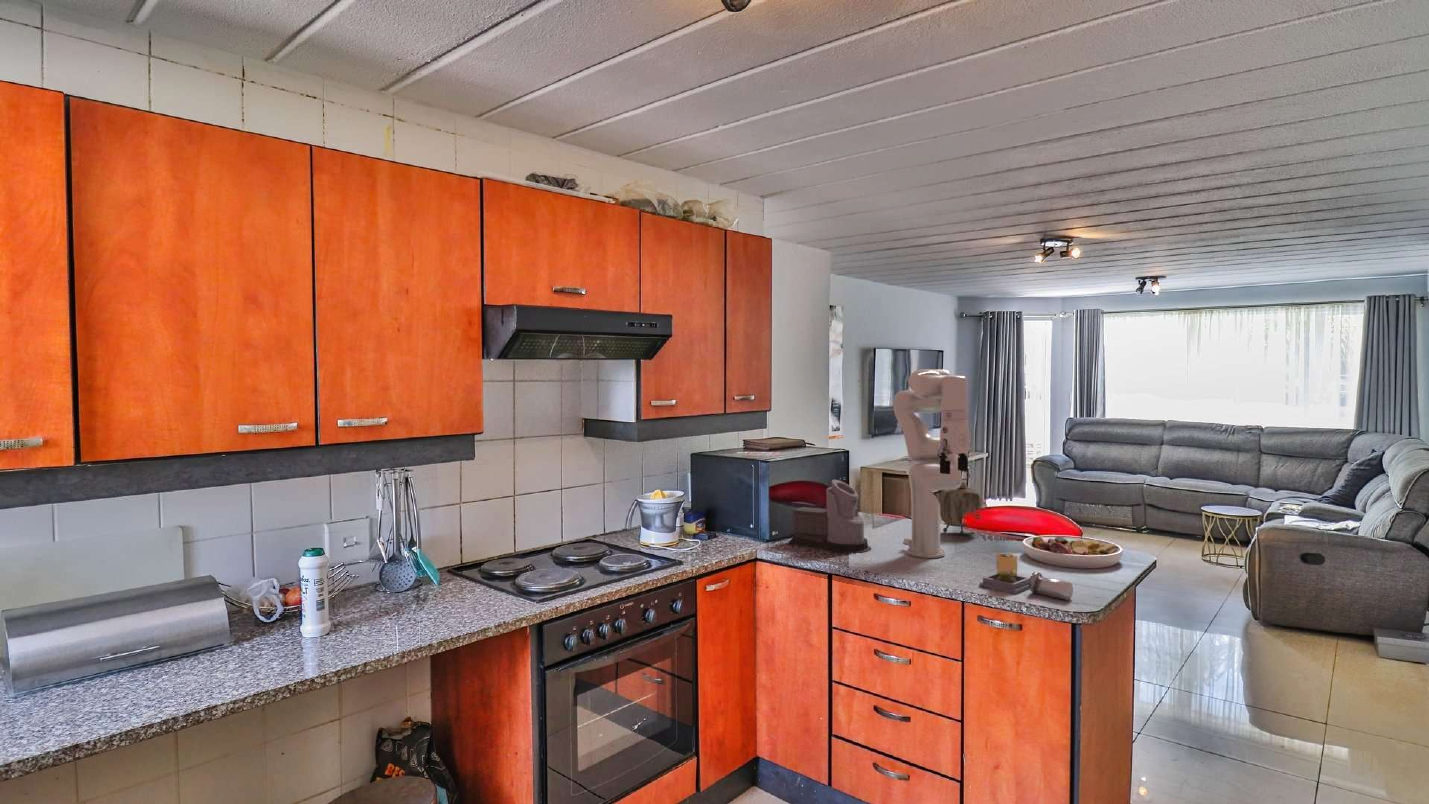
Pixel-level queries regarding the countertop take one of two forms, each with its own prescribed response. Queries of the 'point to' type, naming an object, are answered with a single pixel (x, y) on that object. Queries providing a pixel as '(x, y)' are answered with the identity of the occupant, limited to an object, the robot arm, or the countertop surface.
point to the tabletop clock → (959, 505)
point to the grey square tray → (1006, 584)
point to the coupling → (1006, 567)
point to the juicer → (832, 523)
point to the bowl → (1072, 551)
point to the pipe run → (1050, 587)
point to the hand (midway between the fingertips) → (954, 472)
